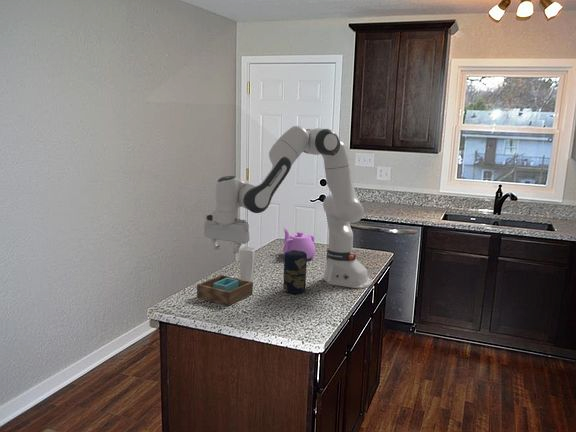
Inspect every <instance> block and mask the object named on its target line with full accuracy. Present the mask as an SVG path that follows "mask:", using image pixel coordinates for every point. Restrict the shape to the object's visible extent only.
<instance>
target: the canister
mask: <svg viewBox="0 0 576 432" xmlns="http://www.w3.org/2000/svg"><path fill="white" fill-rule="evenodd" d="M283 256H284V258H283V259H284V261H283V285H282V286H283V287H282V289H283V290H284V291H285V292H287V293H288V294H289V293H290V294H301V293H303V292H305V290H306V287H307V286H306V285H307V284H306V280H307V267H308V266H307V261H308V259H307V254H306V253H305V252H303V251H297V250H292V251H287V252H286V253H285V255H283Z"/></svg>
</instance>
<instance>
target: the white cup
mask: <svg viewBox="0 0 576 432" xmlns="http://www.w3.org/2000/svg"><path fill="white" fill-rule="evenodd" d="M238 253H239V254H238V260H239V261H238V262H239V275H240V276H239V279H242V280H246V281H251V282H253V273H254V266H255V265H254V264H255V255H256V254H255V248H254V247H252V246H242V247H241V246H240V248H239V252H238Z"/></svg>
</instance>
